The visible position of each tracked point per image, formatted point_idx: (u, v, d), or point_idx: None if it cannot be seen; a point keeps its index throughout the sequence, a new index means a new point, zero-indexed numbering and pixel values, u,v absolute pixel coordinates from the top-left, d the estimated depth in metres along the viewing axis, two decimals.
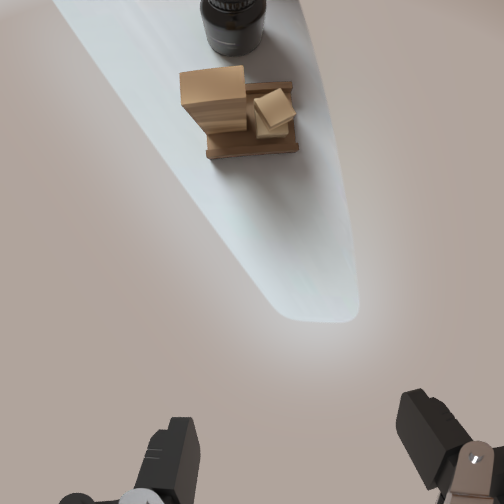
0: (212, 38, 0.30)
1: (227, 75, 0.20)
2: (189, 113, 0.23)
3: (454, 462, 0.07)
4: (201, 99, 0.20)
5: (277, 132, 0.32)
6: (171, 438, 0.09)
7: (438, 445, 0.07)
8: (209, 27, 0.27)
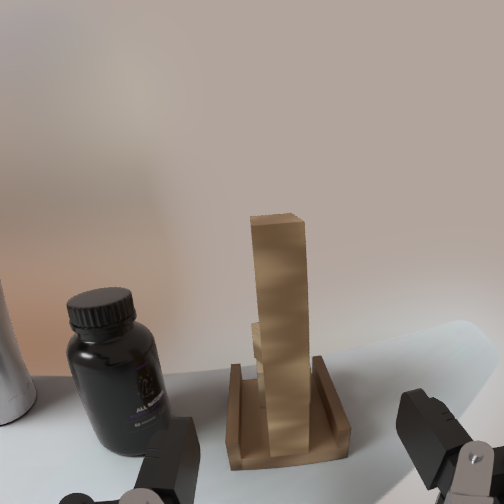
0: (140, 411, 0.19)
1: (262, 217, 0.18)
2: (307, 284, 0.16)
3: (454, 462, 0.07)
4: (295, 218, 0.17)
5: None
6: (171, 438, 0.09)
7: (438, 445, 0.07)
8: (129, 379, 0.19)
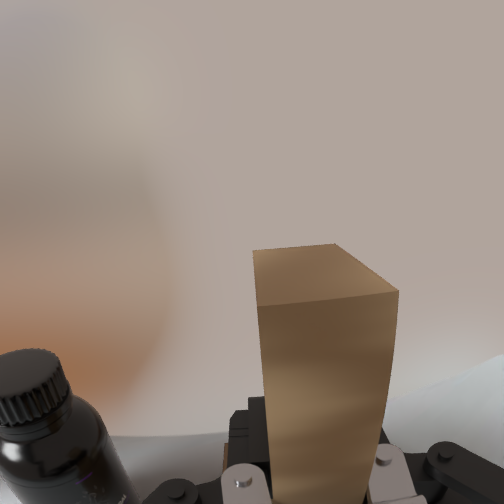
0: None
1: (280, 257, 0.09)
2: (381, 420, 0.06)
3: None
4: (363, 270, 0.07)
5: None
6: (254, 416, 0.10)
7: None
8: (67, 496, 0.09)
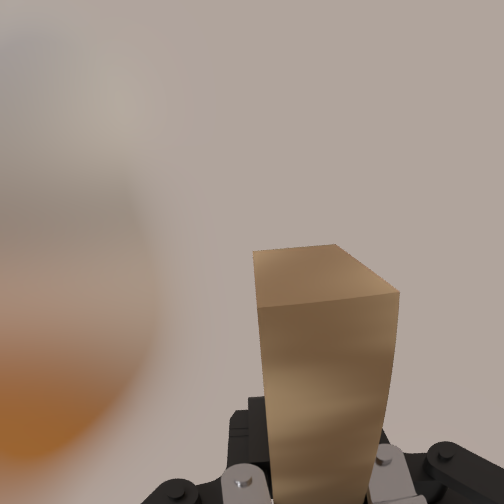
0: None
1: (280, 257, 0.09)
2: (382, 421, 0.06)
3: None
4: (364, 271, 0.07)
5: None
6: (254, 416, 0.10)
7: None
8: None
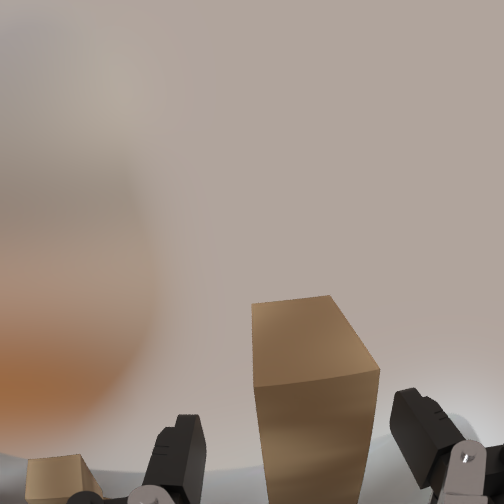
0: None
1: (276, 315, 0.09)
2: (365, 464, 0.06)
3: (446, 461, 0.07)
4: (352, 338, 0.07)
5: None
6: (178, 435, 0.09)
7: (430, 443, 0.07)
8: None
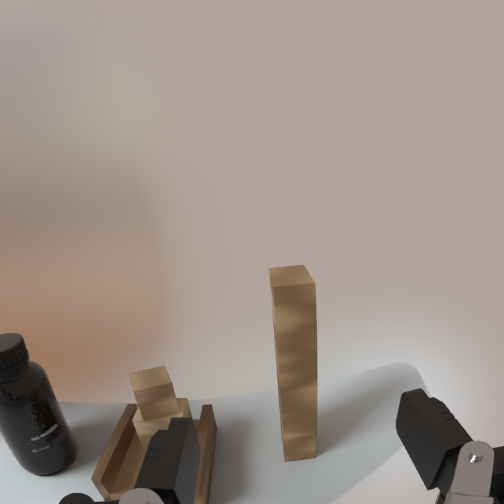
0: (35, 440, 0.18)
1: (280, 271, 0.22)
2: (316, 329, 0.20)
3: (454, 462, 0.07)
4: (308, 276, 0.20)
5: (183, 406, 0.24)
6: (171, 438, 0.09)
7: (438, 445, 0.07)
8: (20, 414, 0.17)
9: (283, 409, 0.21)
